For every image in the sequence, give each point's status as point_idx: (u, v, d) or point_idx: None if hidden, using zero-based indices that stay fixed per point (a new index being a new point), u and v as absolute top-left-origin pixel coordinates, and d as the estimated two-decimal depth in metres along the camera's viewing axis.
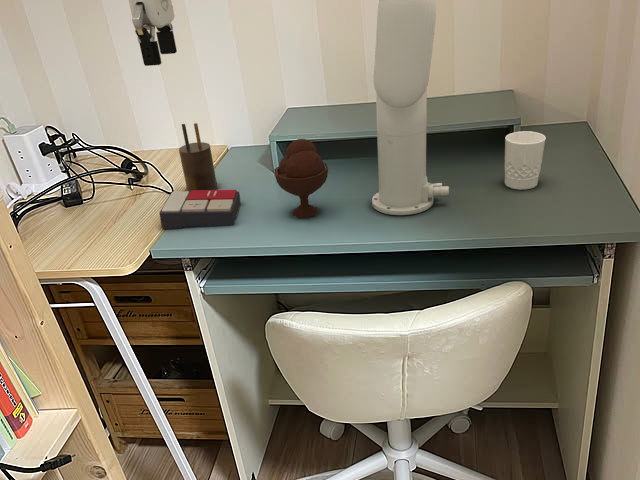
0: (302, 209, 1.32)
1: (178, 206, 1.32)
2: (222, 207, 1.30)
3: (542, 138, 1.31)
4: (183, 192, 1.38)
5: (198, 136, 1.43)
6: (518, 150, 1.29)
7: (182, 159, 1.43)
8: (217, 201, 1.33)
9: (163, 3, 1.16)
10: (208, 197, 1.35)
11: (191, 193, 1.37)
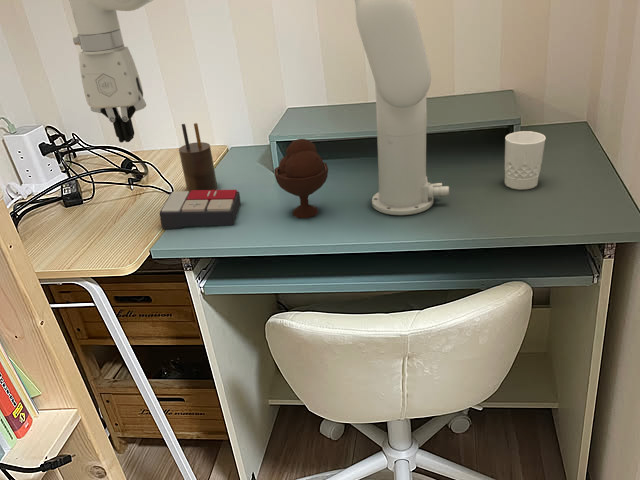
0: (302, 209, 1.32)
1: (178, 206, 1.32)
2: (222, 207, 1.30)
3: (542, 138, 1.31)
4: (183, 192, 1.38)
5: (198, 136, 1.43)
6: (518, 150, 1.29)
7: (182, 159, 1.43)
8: (217, 201, 1.33)
9: (105, 88, 1.20)
10: (208, 197, 1.35)
11: (191, 193, 1.37)
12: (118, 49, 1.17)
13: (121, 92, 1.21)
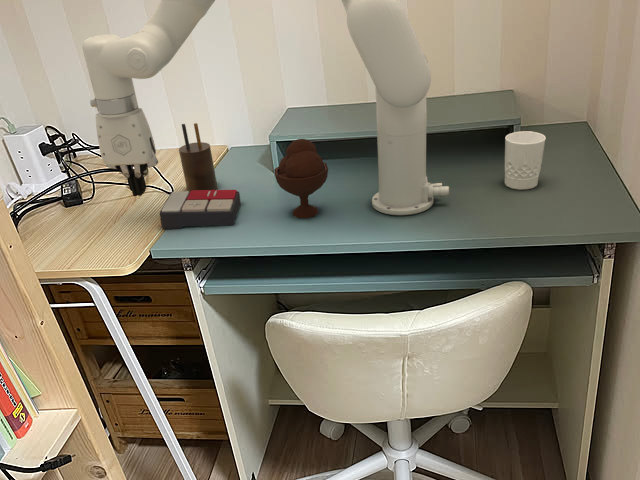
0: (302, 209, 1.32)
1: (178, 206, 1.32)
2: (222, 207, 1.30)
3: (542, 138, 1.31)
4: (183, 192, 1.38)
5: (198, 136, 1.43)
6: (518, 150, 1.29)
7: (182, 159, 1.43)
8: (217, 201, 1.33)
9: (120, 148, 1.27)
10: (208, 197, 1.35)
11: (191, 193, 1.37)
12: (133, 112, 1.24)
13: (135, 151, 1.27)
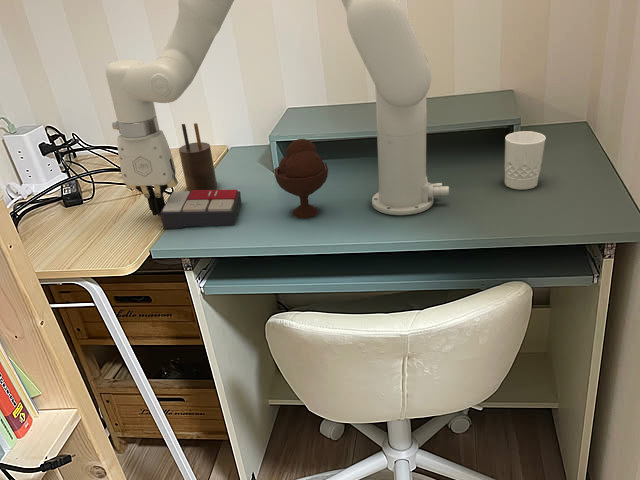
0: (302, 209, 1.32)
1: (179, 206, 1.32)
2: (223, 207, 1.30)
3: (542, 138, 1.31)
4: (184, 192, 1.38)
5: (198, 136, 1.43)
6: (518, 150, 1.29)
7: (182, 159, 1.43)
8: (218, 201, 1.33)
9: (141, 169, 1.29)
10: (209, 197, 1.35)
11: (192, 193, 1.37)
12: (154, 135, 1.26)
13: (156, 173, 1.29)
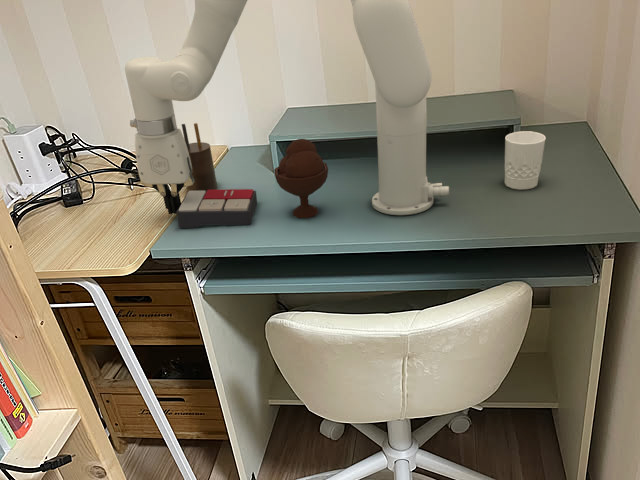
0: (302, 209, 1.32)
1: (195, 205, 1.31)
2: (239, 207, 1.30)
3: (542, 138, 1.31)
4: (200, 191, 1.37)
5: (198, 136, 1.43)
6: (518, 150, 1.29)
7: None
8: (234, 201, 1.32)
9: (158, 167, 1.28)
10: (225, 196, 1.34)
11: (208, 192, 1.36)
12: (172, 133, 1.25)
13: (173, 171, 1.28)
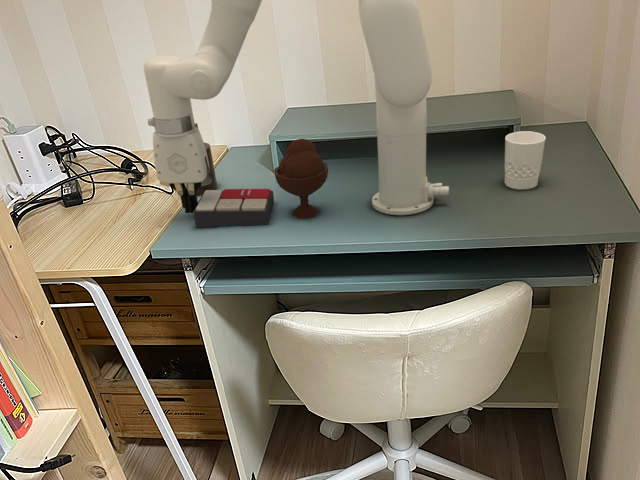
0: (302, 209, 1.32)
1: (212, 205, 1.31)
2: (257, 206, 1.29)
3: (542, 138, 1.31)
4: (216, 191, 1.37)
5: None
6: (518, 150, 1.29)
7: None
8: (251, 200, 1.32)
9: (175, 166, 1.28)
10: (242, 196, 1.34)
11: (225, 192, 1.36)
12: (191, 132, 1.25)
13: (191, 170, 1.28)
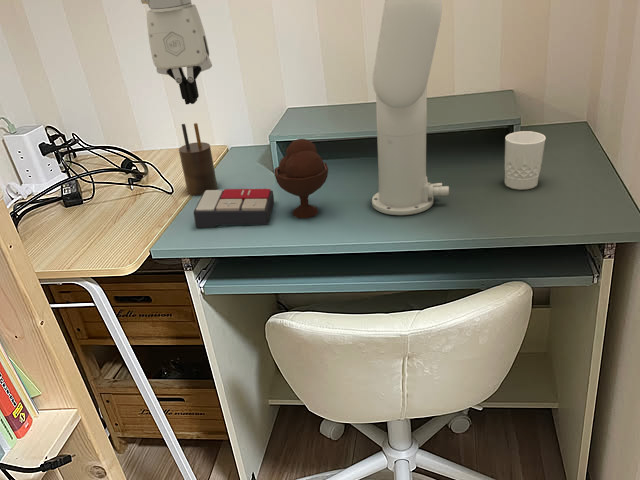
0: (302, 209, 1.32)
1: (212, 205, 1.31)
2: (257, 206, 1.29)
3: (542, 138, 1.31)
4: (216, 191, 1.37)
5: (198, 136, 1.43)
6: (518, 150, 1.29)
7: (182, 159, 1.43)
8: (251, 200, 1.32)
9: (172, 47, 1.19)
10: (242, 196, 1.34)
11: (225, 192, 1.36)
12: (187, 6, 1.16)
13: (189, 51, 1.19)
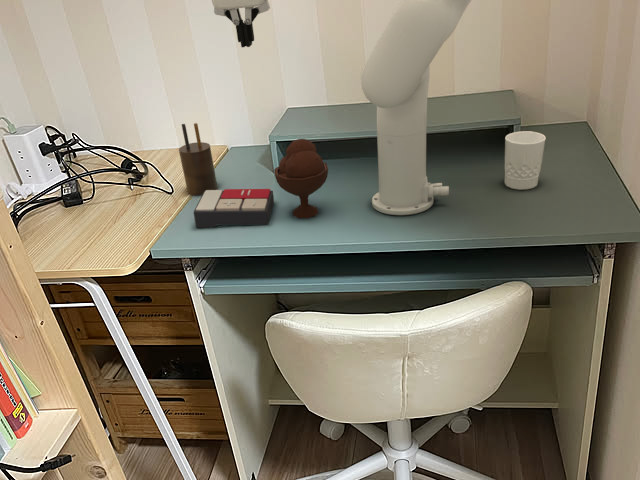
0: (302, 209, 1.32)
1: (212, 205, 1.31)
2: (257, 206, 1.29)
3: (542, 138, 1.31)
4: (216, 191, 1.37)
5: (198, 136, 1.43)
6: (518, 150, 1.29)
7: (182, 159, 1.43)
8: (251, 200, 1.32)
9: None
10: (242, 196, 1.34)
11: (225, 192, 1.36)
12: None
13: None
